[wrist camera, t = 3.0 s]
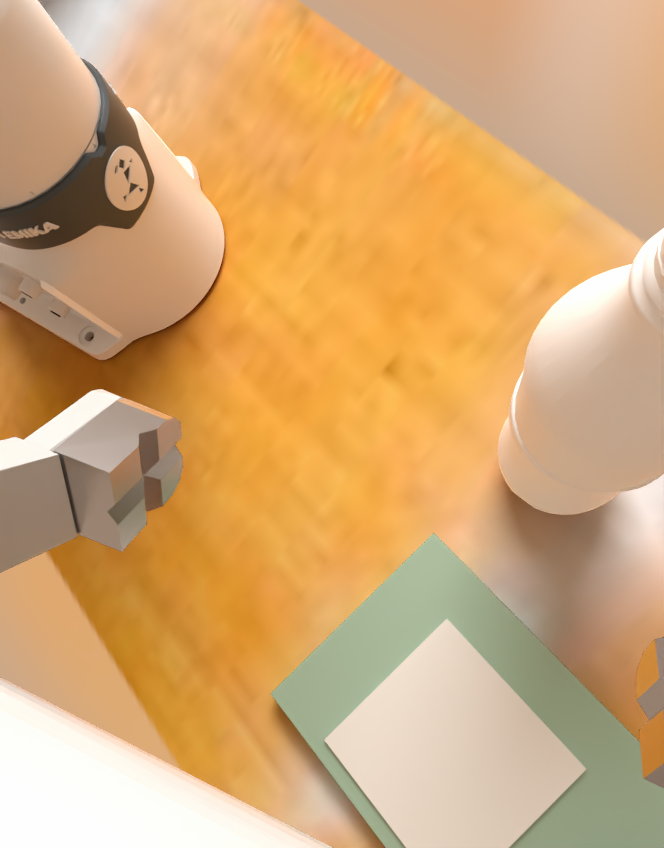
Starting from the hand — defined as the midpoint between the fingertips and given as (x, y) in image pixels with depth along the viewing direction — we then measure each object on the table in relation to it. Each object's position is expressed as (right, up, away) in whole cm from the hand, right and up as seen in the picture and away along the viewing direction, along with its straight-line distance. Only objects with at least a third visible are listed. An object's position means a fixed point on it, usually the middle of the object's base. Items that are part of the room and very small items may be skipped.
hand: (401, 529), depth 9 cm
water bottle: (+13, -1, +26) cm, 29 cm away
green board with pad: (+9, -19, +22) cm, 31 cm away
